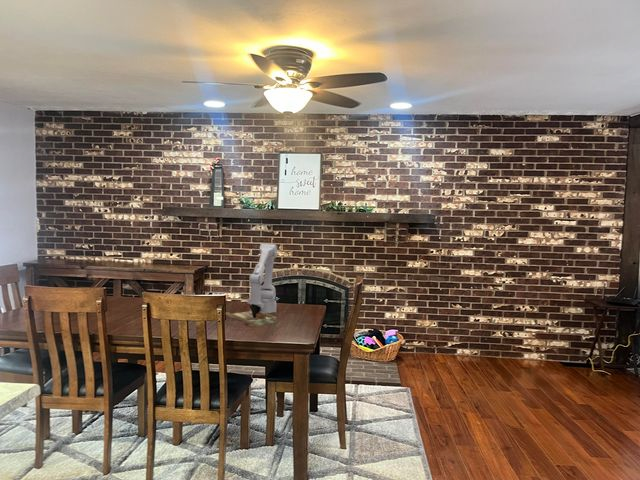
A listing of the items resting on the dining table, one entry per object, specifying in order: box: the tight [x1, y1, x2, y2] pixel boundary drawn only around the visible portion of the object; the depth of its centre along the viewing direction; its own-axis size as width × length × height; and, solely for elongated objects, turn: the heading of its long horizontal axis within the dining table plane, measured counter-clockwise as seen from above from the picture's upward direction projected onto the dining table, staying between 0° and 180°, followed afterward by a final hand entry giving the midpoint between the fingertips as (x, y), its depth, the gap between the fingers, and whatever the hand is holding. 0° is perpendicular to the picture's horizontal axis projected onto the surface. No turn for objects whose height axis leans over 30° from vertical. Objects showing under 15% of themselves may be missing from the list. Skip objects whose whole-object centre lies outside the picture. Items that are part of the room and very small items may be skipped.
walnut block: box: [256, 313, 267, 320], centre depth 253 cm, size 4×4×4 cm
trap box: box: [225, 308, 278, 328], centre depth 261 cm, size 18×27×3 cm, turn 42°
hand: (255, 317), depth 258 cm, fingers closed
